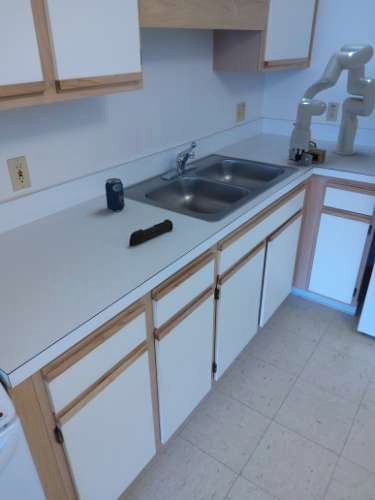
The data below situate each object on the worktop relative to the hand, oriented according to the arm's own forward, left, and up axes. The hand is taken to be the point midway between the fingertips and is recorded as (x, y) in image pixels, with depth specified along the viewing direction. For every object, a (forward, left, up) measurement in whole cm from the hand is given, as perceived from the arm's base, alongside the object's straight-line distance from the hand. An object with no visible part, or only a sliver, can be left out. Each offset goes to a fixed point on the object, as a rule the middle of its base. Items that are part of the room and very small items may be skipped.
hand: (297, 160), depth 213 cm
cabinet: (-12, +1, -2) cm, 12 cm away
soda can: (+105, -32, -2) cm, 110 cm away
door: (-3, -1, -1) cm, 3 cm away
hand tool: (+115, -3, -3) cm, 115 cm away
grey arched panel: (-25, -7, -2) cm, 26 cm away
